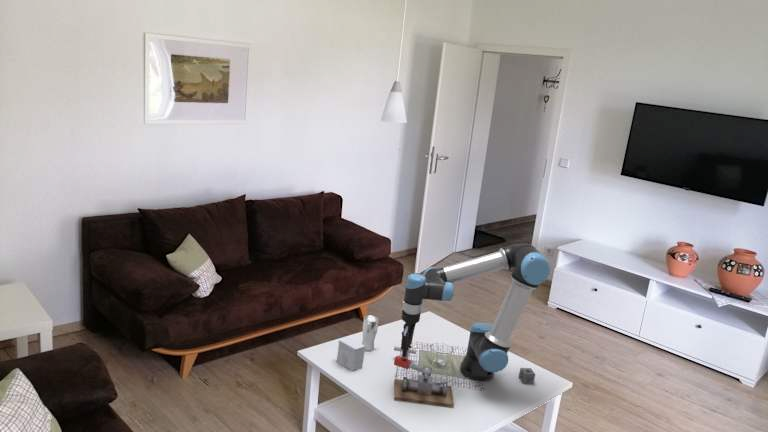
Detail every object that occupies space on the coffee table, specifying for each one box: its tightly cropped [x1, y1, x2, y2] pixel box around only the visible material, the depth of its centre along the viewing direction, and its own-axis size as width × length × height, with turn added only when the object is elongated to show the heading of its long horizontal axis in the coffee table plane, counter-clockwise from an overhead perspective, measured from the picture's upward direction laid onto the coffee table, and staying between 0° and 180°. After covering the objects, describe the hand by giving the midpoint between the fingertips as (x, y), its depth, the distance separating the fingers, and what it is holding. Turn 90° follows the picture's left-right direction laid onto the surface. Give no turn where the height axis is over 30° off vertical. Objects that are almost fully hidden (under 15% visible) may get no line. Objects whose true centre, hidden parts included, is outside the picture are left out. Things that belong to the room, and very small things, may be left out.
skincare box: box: [336, 336, 365, 372], centre depth 269 cm, size 10×6×10 cm, turn 48°
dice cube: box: [518, 367, 536, 385], centre depth 274 cm, size 5×5×5 cm
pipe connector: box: [393, 345, 417, 355], centre depth 278 cm, size 10×10×10 cm
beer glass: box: [361, 314, 379, 352], centre depth 284 cm, size 7×7×15 cm
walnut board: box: [393, 378, 455, 409], centre depth 253 cm, size 24×14×2 cm, turn 89°
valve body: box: [402, 374, 448, 396], centre depth 252 cm, size 18×6×8 cm, turn 89°
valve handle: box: [393, 355, 433, 377], centre depth 253 cm, size 4×16×3 cm, turn 64°
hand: (404, 362), depth 257 cm, fingers closed
